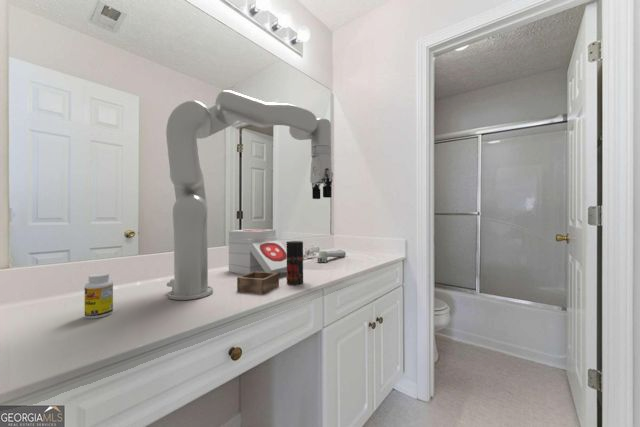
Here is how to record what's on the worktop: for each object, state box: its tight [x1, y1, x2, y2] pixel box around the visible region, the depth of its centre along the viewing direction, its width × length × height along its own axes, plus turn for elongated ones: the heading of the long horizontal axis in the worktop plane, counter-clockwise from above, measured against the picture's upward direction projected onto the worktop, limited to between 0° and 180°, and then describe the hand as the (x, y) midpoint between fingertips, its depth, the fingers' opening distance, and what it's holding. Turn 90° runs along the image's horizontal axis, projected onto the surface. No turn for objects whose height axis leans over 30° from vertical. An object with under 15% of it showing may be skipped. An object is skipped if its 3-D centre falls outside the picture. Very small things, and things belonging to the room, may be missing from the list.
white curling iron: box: [316, 249, 346, 263], centre depth 149 cm, size 5×7×25 cm
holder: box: [236, 271, 280, 295], centre depth 91 cm, size 10×10×4 cm
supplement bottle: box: [84, 272, 114, 320], centre depth 68 cm, size 6×6×10 cm
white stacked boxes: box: [228, 228, 287, 275], centre depth 118 cm, size 19×30×18 cm, turn 52°
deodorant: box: [286, 240, 304, 286], centre depth 98 cm, size 6×6×15 cm
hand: (321, 198), depth 102 cm, fingers open, 9 cm apart
